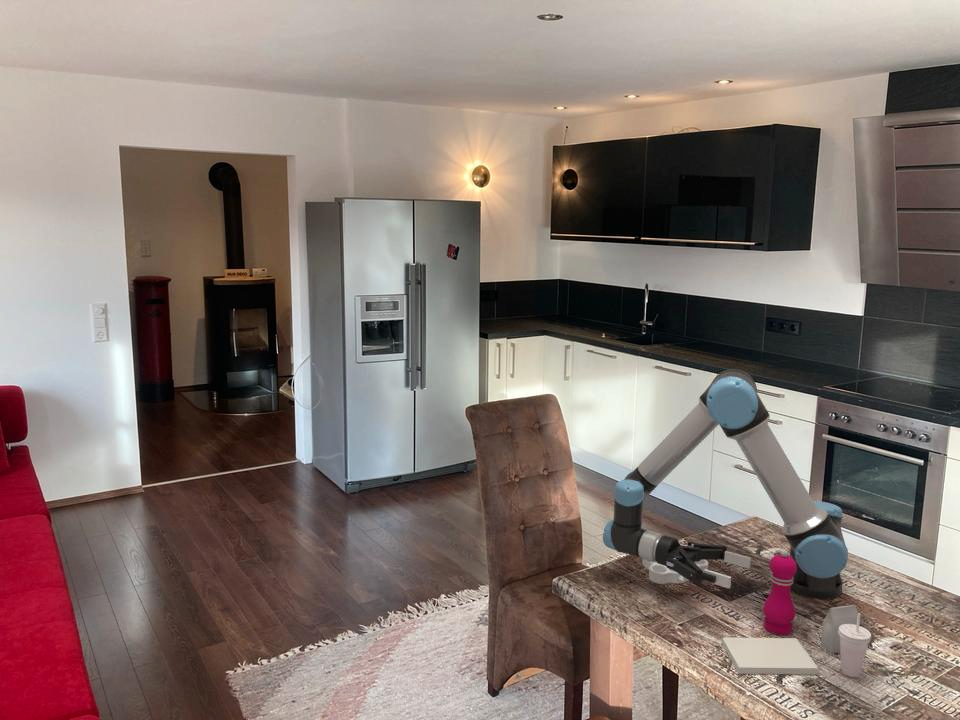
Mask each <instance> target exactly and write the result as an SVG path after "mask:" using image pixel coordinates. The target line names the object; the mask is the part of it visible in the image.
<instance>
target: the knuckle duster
mask: <svg viewBox="0 0 960 720" xmlns="http://www.w3.org/2000/svg"><path fill="white" fill-rule="evenodd" d="M694 563H695V564H696V565H697V566H698V567H699V568H700V569H701V570H702V571H703V572H704V569H707V570H709V561H708V560H700V561H695V562H694ZM642 565H643V567H644V568H645V569H646V570H648V572H649V573H648V574H649V575H648V578H649V580H650V581H651V582H653V583H655V584H658V585H659V584H660V585H665V584H669V583H671V584H685V583H686V581H687V582H690V581H689V580H688V579H686V578H685V577H683V576H682V575H680V574H679V573H677V572H675V571H674V570H671V569H669V568H667V567H666V566H664V565H661V564H658V563H657V562H652V561H650V562H648V561H647V560H645V559H642ZM691 577H692V575H691Z"/></svg>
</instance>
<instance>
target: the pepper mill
mask: <svg viewBox="0 0 960 720" xmlns="http://www.w3.org/2000/svg"><path fill="white" fill-rule="evenodd" d="M769 569H770V572H771V573H770V581H771V582H772V584H771V585H772V586H771V590H770V593H769V595H768V596H767V598H766V600H765V601H764V603H763V608H762V610H763V611H762V612H763V614H764V616H765V617H764V621H763V627H764V629H765V630H766V631H768V632H769V633H772V634H775V635H778V636H787V635H789V634H791V633H792V632H793V622H792V621H794V620H795V618H796V616H797V615H796V608H795V605H794V602H793V599H792V597H791V591H790V588H791V585H792V584H793V579H794V577H793V575H794V574H795V573H796V571H797V565H796V562H795V561H794V559H793V558H791V557H790V556H789V552H788V550H786V549H782V550H780V554H776V555H774V556H773V557H772V558H771V559H770V561H769Z"/></svg>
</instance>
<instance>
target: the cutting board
mask: <svg viewBox="0 0 960 720" xmlns="http://www.w3.org/2000/svg"><path fill="white" fill-rule="evenodd" d="M722 644H723V645H722ZM721 645H722V646H724V647H723V648H724V650H725V652H726V651H727V652H726V654H727V653H728V654H727V656H728V655H729V656H728V658H729V659H730V661H731V660H732V661H731V663H732V665H733V664H734V665H733V666H734V668H735V670H736V672H737V673H738V674H739V675H811V676H812V675H817V676H818V675H819V667H818V665H817V664H816V663H815V662H814V660H813V659H812V658H811V656H810V655H809V654H808V652H807V651H806V650H805V648H804V647H803V645H802V644H801V642H800V641H799V640H798V639H797V637H796V638H792V637H784V638H783V637H722V638H721Z"/></svg>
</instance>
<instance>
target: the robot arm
mask: <svg viewBox="0 0 960 720" xmlns="http://www.w3.org/2000/svg"><path fill="white" fill-rule="evenodd" d="M770 417H771V415H770V413H769V411H768V410H767V407H766V406H765V404H764V402H763V401H762V400H761V398H760V396H759V394H758V387H757V384H756V381H755V380H754V379H753V377H752V376H751V375H750V374H749V373H747V372H745V371H743V370H740V369H735V368H734V369H727V370H724V371H721V372H719V373H718V374H717V375H716V376H715V377H714V378H713V380H712V381H711V382H710V385H709V386H708V387H707V388H706V389H705V390H704V392H703V393H701V395H700V396H699V398H698V404H697V405H696V406H695V407H694V408H693V409H692V410H691V411H690V412H689V413H688V414H687V415H686V416H685V417H684V418H683V419H681V421H680V422H679V423H678V424H677V425H676V426H675V427H674V428H673V429H672V430H671V431H670V432H669V433H668V434H667V435H666V437H664V438H663V440H662V441H660V443H659V444H658V445H657V446H655V448H654V449H653V450H652V451H651V452H650V453H649V454H647V457H645V458H644V459H643V460H642V461H641V462H640V463H639V464H638V466H637V467H635V469H633V471H630V472H629V473H627V475H626V476H625V477H624V478H623V479H622V480H619V481H617V482H616V484H615V486H614V487H615V488H614V494H613V497H614V498H613V499H614V502H613V507H614V508H613V520H609V521H608V522H607V523H606V524H605V526H604V529H603V533H602V542H603V545H604V546H605V547H607V548H609V549H611V550H613V551H616V552H617V553H621V554H622V553H623V554H626V555H629V556H633V557H637V558H639V559H642V560H643V559H645V560H647V561H648V562H650V561H652V562H657V563H658V564H661V565H664V566H666V567H667V568H669V569H671V570H674V571H675V572H677V573H679V574H680V575H682V576H683V577H685V578H686V579H688V580H689V581H688V582H691V583H693V584H698V585H702V583H703V581H704V582H706V583H710V584H713V585H717V586H719V587H722V588H726V589H730V588H731V587H732V586H731V585H732V576H729V575H727V574H723V573H719V572H716V571H714V570H709V569H708V570H707V569H704V572H703V571H702V570H701V569H700V568H699V567H698V566H697V565H696V564H695V563H694V562H695V561H700V560H707V561H708V560H709V561H710V560H713V561H714V560H716V561H717V560H722V561H723V562H724V563H729V564H731V565H735V566H739V567H742V568H746V569H749V570H750V569H751V567H752V566H751V565H752V557H750V556H746V555H742V554H739V553H735V552H733V551H729V550H727V549H728V546H726V545H717V544H707V543H698V542H697V543H696V542H692V541H687V543H686V545H681V543H680V542H679V539H677V538H676V537H673V536H669V535H665V534H662V533H659V532H656V531H652V530H648V529H644V528H642V524H643V511H644V505H645V502H646V501H647V498H648V496H649V495H650V494H651V493H652V492H653V491H654V490H656V488H657V487H658V485H660V484H661V483H662V482H663V481H664V480H665V479H666V478H667V477H668V476H669V475H670V474H671V473H672V472H673V471H674V469H676V468H677V467H679V465H680V464H681V463H682V462H683V461H684V460H685V458H687V457H688V456H689V455H690V454H691V453H692V452H693V451H694V450H695V449H696V448H697V447H698V446H699V445H700V444H701V443H702V442H703V441H704V440H705V439H706V438H707V437H708V436H709V435H711V433H713V431H714V430H715V429H716V428H717V427H718V426H720V428H721V430H722V431H723V433H724V435H725V436H726V438H728V439H730V440H733V441H734V440H735V442H736V443H737V445H738V446H739V448H740V450H741V451H742V453H743V455H744V457H745V459H746V460H747V462H748V464H749V465H750V467H751V469H752V470H753V472H754V474H755V476H756V477H757V479H758V480H759V482H760V484H761V486H762V488H763V489H764V490H765V492H766V494H767V496H768V497H769V500H770V501H771V503H772V505H773V506H774V508H775V509H776V511H777V513H778V514H779V516H780V518H781V520H782V521H783V526H782V528H781V529H782V530H781V531H782V534H783V535H784V538H785V539H786V541H787V542H788V544H789V546H790V549H789V550H790V551H789V554H788V556H790V557H791V558H793V559H794V561H795V562H796V565H797V571H796V573H795V574H794V575H793V577H794V579H793V584H792V585H791V588H790V592H792V593H794V594H796V595H798V596H799V595H800V596H803V597H807V598H811V599H818V600H828V599H829V598H830V599H834V597H835V598H838V597H839V596H841V595H842V593H843V578H842V576H841V573H842V571H843V570H844V569H845V568H846V566H847V564H848V559H849V558H848V557H849V553H848V551H849V550H848V547H847V545H846V542H845V539H844V536H843V531H842V520H843V518H844V516H843V509H842V508H841V507H840V506H838V505H836V504H834V503H830V502H825V501H820V500H813V499H812V497H811V495H810V493H809V492H808V490H807V488H806V487H805V485H804V483H803V482H802V480H801V478H800V476H799V475H798V473H797V471H796V469H795V468H794V466H793V465H792V463H791V460H789V458H788V456H787V454H786V453H785V451H784V449H783V448H782V446H781V444H780V442H779V441H778V439H777V436H775V434H774V432H773V431H772V429H771V427H770V425H769V422H770V421H769V420H770ZM691 575H692V577H691ZM837 596H838V597H837Z"/></svg>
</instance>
